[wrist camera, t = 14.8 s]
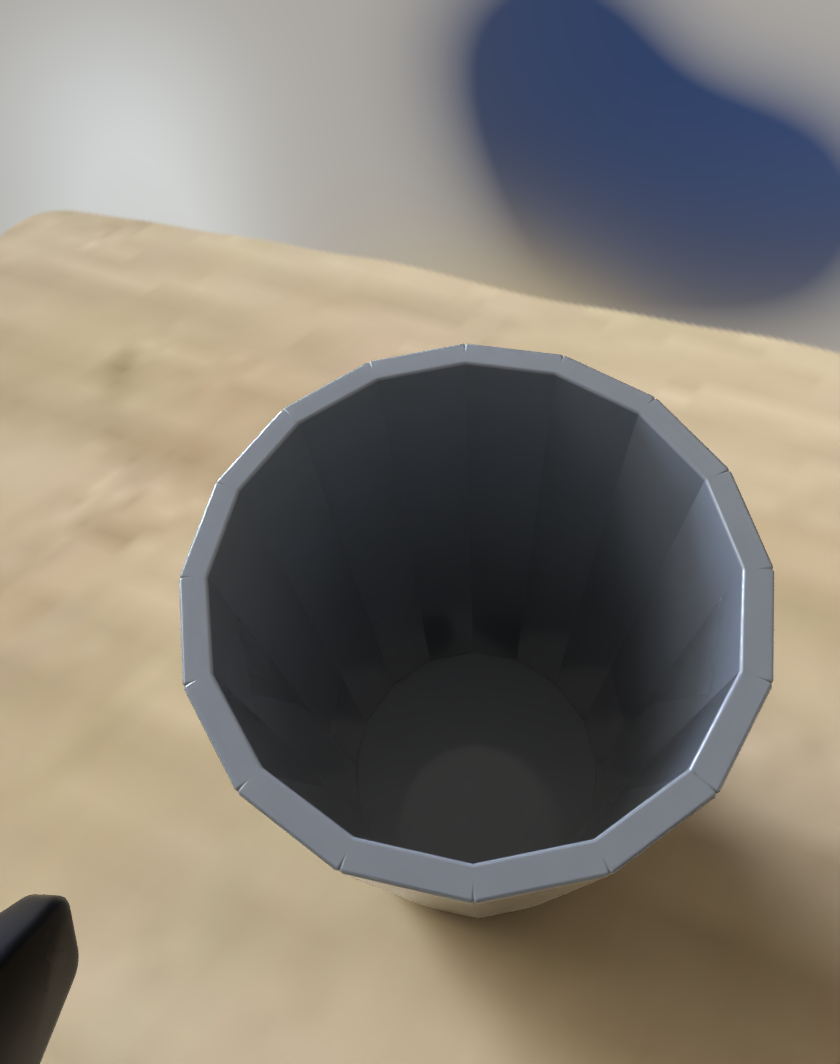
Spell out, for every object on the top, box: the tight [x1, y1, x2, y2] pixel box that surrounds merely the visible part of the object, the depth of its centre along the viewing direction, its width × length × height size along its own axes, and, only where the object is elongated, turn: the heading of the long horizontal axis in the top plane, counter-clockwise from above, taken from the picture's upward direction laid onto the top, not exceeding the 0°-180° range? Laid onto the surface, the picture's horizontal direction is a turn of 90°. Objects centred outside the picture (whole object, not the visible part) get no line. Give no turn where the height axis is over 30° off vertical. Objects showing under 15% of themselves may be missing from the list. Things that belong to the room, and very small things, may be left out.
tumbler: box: [179, 344, 774, 918], centre depth 14 cm, size 7×7×12 cm
